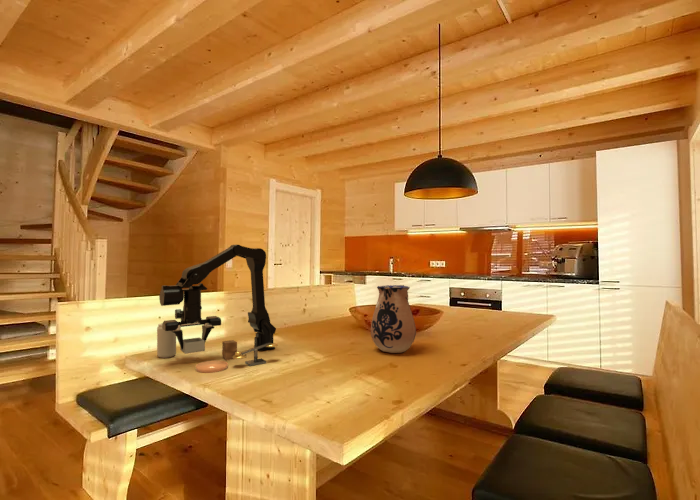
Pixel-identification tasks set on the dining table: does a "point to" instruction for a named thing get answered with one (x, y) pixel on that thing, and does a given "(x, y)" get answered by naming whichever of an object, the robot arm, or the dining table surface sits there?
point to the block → (229, 349)
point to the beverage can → (165, 343)
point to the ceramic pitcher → (393, 320)
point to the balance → (256, 361)
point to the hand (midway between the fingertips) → (192, 347)
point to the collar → (193, 345)
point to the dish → (211, 366)
